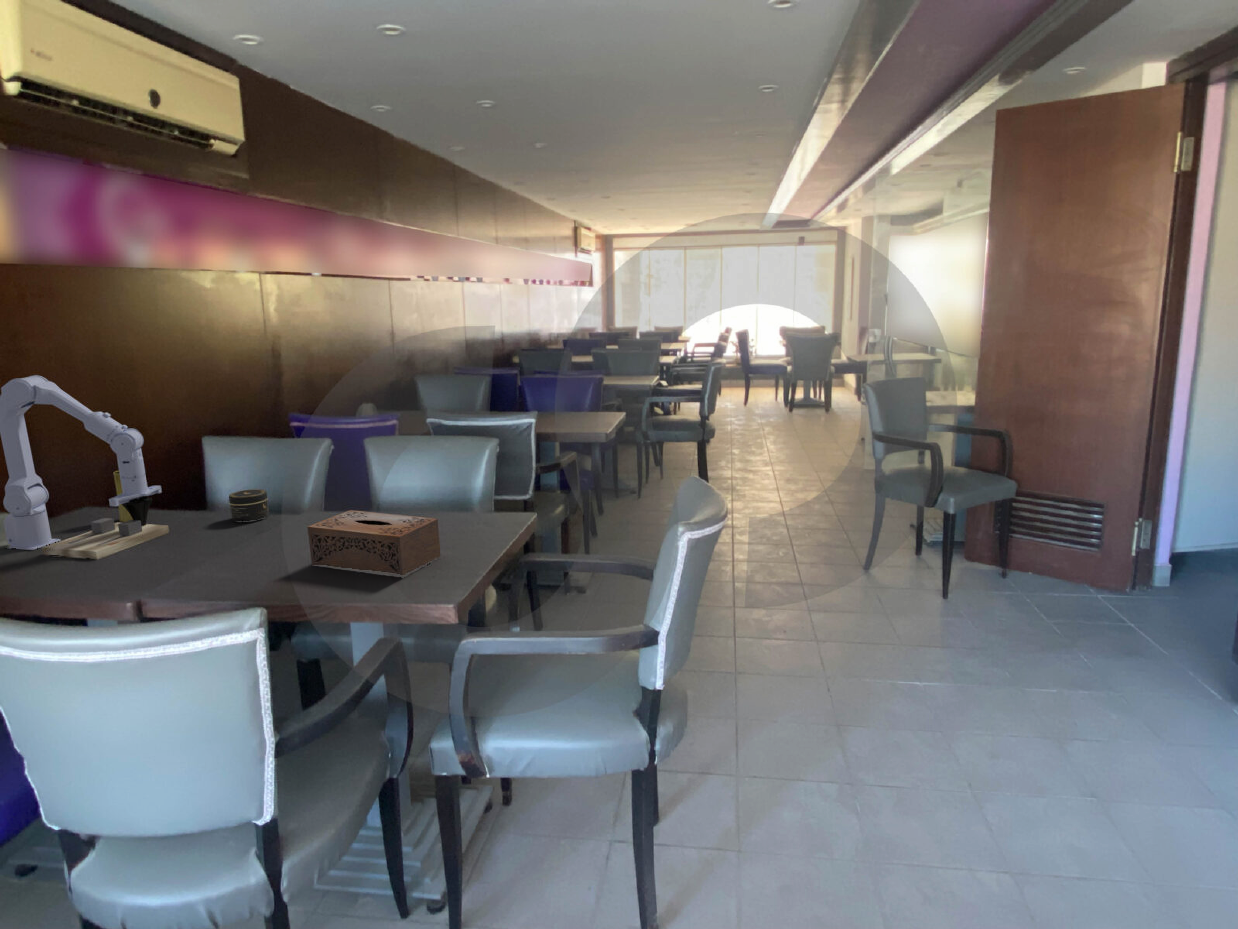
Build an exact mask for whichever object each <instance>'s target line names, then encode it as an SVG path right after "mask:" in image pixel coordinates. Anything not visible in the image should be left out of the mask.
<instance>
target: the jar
mask: <svg viewBox="0 0 1238 929" xmlns="http://www.w3.org/2000/svg"><path fill="white" fill-rule="evenodd" d="M268 500H269V498H268V493H267V491H266V490H265V489H262V488H260V489H259V488H258V489H257V488H255V489H254V488H250V489H244V490H239V491H235V492H232V493H230V494H229V495H228V504H229V508H230V515H231V518H232V520H233V521H234V520H235V521H242V522H243V521H250V520H258V519H261V518H264V517H267V518H268V516H269V513H270V510H269V501H268ZM235 521H234V522H235Z"/></svg>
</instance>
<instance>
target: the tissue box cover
mask: <svg viewBox="0 0 1238 929" xmlns="http://www.w3.org/2000/svg"><path fill="white" fill-rule="evenodd" d="M439 532H440V531H439V519H438V518H433V517H425V516H424V517H423V516H413V515H405V514H403V515H402V514H394V513H391V514H390V513H382V512H372V511H371V512H370V511H363V510H353V509H349V510H346V511H344V512H341V513H339V514H337V515H334V516H331V517H328V518H326V519H324V520H320V521H318V522H316V523H313V524H311V525H308V526H307V534H308V542H309V551H310V560H311V561H310V562H311V566H312V565H327V566H334V567H341V568H352V569H359V570H372V571H381V572H389V573H390V572H391V573H396V574H400V575H405V574H406V573H408V572H411V571H413V570H414V569H416V568H419V567H420V566H422V565H425V564H426V563H428V562H430V561H433V560H434V559H435V558H438V557H440V556H441V544H440V543H441V542H440V533H439ZM441 557H442V556H441Z"/></svg>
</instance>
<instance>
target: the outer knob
mask: <svg viewBox="0 0 1238 929" xmlns="http://www.w3.org/2000/svg"><path fill="white" fill-rule="evenodd" d="M118 528H119V534H120V535H124V536H131V535H134V534H136V533H139V532H142V525H141V520H129V521H126V522H121V523H120V524H118Z"/></svg>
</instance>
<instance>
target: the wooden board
mask: <svg viewBox="0 0 1238 929" xmlns="http://www.w3.org/2000/svg"><path fill="white" fill-rule="evenodd" d="M120 523H122V522H121V521H119V522H114V524H115V530H112V531H109V532H106V533H103V534H97V533H92V530H90V531H87V532H84V533H82V534H79V535H76V536H72V537H69V538H66V539H63V540H61V541H59V542H56V543H53V544H50V545H47V546H44V547H41V551H42V554H43V556H49V555H60V556H59V557H61V556H66V557H65V558H76V559H86V558H90V559H89V560H99V559H102V558H105V557H108V556H111V555H113V554H116V553H119V552H122V551H123V550H127V549H129V548H132V547H134V546H137V545H139V544H142V543H145V542H148V541H150V540H154V539H156V538H158V537H161V536H164V535H168V534H169V533H170V528H169V525H167V524H166V525H165V524H152V523H151V524H150V523H149V524H148V523H146V525H145V526H142V532H139V533H136V534H134V535H131V536H124V535H120V534H119V528H118V524H120Z"/></svg>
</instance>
